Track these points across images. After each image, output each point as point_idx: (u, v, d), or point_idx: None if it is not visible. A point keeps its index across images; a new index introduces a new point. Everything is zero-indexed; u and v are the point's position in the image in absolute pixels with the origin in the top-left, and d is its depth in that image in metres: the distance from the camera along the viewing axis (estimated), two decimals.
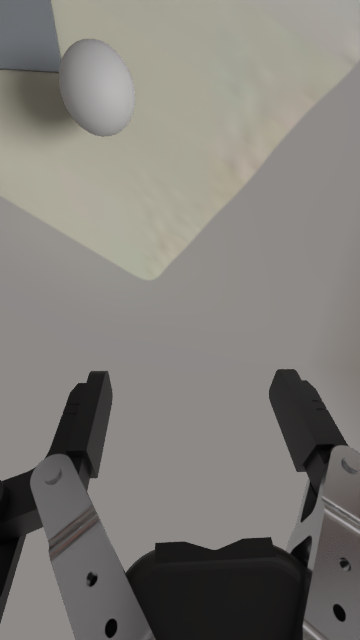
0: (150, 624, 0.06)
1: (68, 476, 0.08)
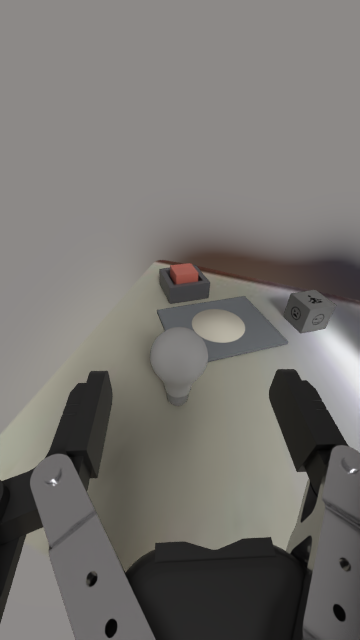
0: (150, 624, 0.06)
1: (68, 476, 0.08)
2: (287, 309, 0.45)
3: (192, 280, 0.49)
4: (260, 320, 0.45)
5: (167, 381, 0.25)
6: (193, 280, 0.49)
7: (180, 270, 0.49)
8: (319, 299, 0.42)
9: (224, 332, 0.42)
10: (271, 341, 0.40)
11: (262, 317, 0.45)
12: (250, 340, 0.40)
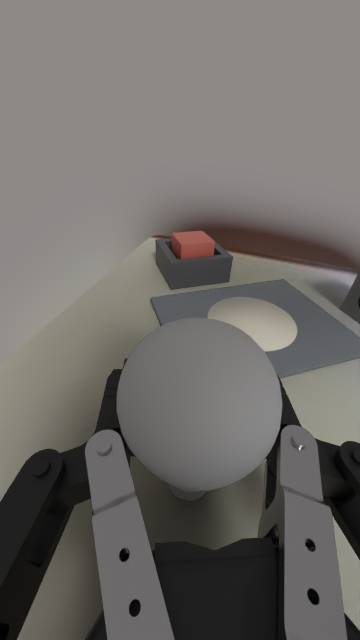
0: (170, 620, 0.06)
1: (119, 449, 0.08)
2: (351, 298, 0.28)
3: (205, 254, 0.32)
4: (317, 314, 0.28)
5: (165, 480, 0.08)
6: (207, 254, 0.32)
7: (187, 238, 0.32)
8: None
9: (263, 333, 0.25)
10: (347, 349, 0.23)
11: (319, 309, 0.28)
12: (311, 347, 0.23)
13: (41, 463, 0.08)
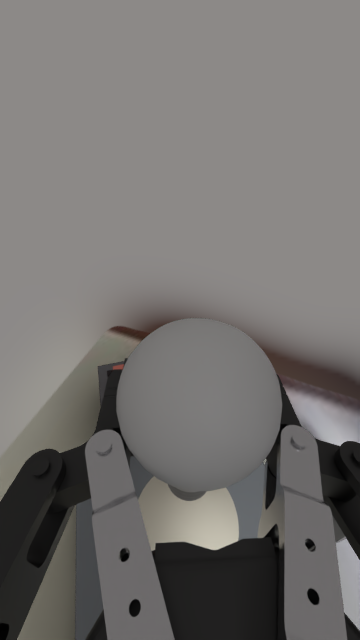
0: (170, 620, 0.06)
1: (119, 449, 0.08)
2: None
3: None
4: None
5: (165, 481, 0.08)
6: None
7: None
8: None
9: None
10: None
11: None
12: None
13: (41, 463, 0.08)
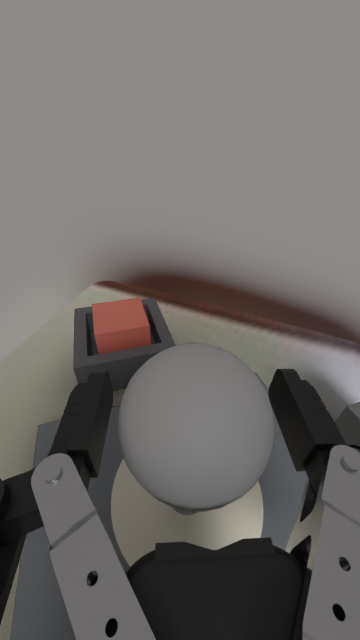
0: (150, 624, 0.06)
1: (69, 475, 0.08)
2: None
3: (137, 341, 0.22)
4: None
5: None
6: (139, 341, 0.22)
7: (109, 318, 0.22)
8: None
9: (202, 530, 0.14)
10: None
11: None
12: None
13: None
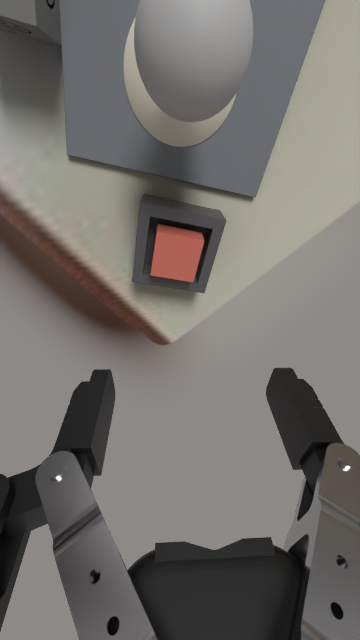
0: (152, 623, 0.06)
1: (73, 473, 0.08)
2: (54, 28, 0.17)
3: (169, 228, 0.24)
4: (79, 29, 0.18)
5: None
6: (167, 228, 0.24)
7: (185, 256, 0.24)
8: None
9: None
10: None
11: (67, 39, 0.18)
12: None
13: None
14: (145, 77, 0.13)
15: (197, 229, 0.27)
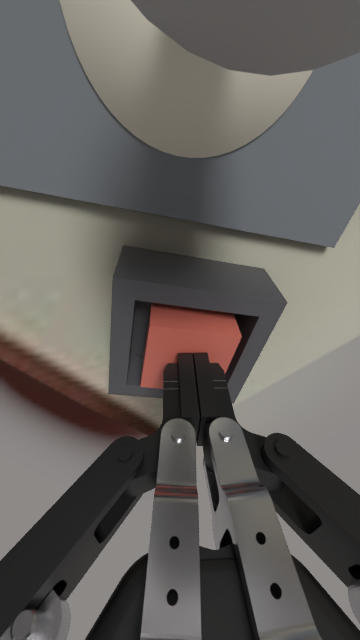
0: None
1: (193, 437, 0.09)
2: None
3: (173, 309, 0.13)
4: None
5: None
6: (169, 308, 0.13)
7: None
8: None
9: None
10: None
11: None
12: None
13: (125, 449, 0.08)
14: None
15: None
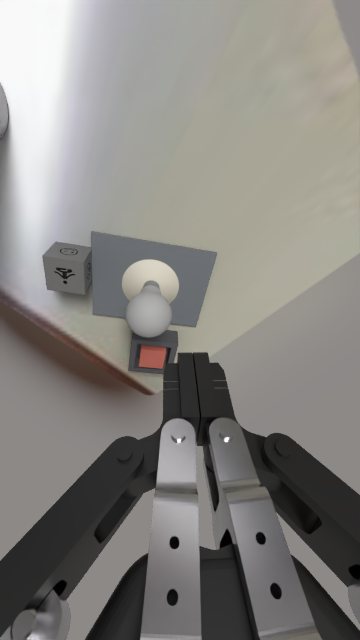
0: None
1: (193, 437, 0.09)
2: (89, 280, 0.38)
3: None
4: (100, 273, 0.39)
5: None
6: None
7: (157, 358, 0.46)
8: (56, 272, 0.34)
9: (151, 273, 0.39)
10: (110, 241, 0.36)
11: (95, 276, 0.39)
12: (132, 252, 0.37)
13: (125, 449, 0.08)
14: (130, 327, 0.34)
15: None
